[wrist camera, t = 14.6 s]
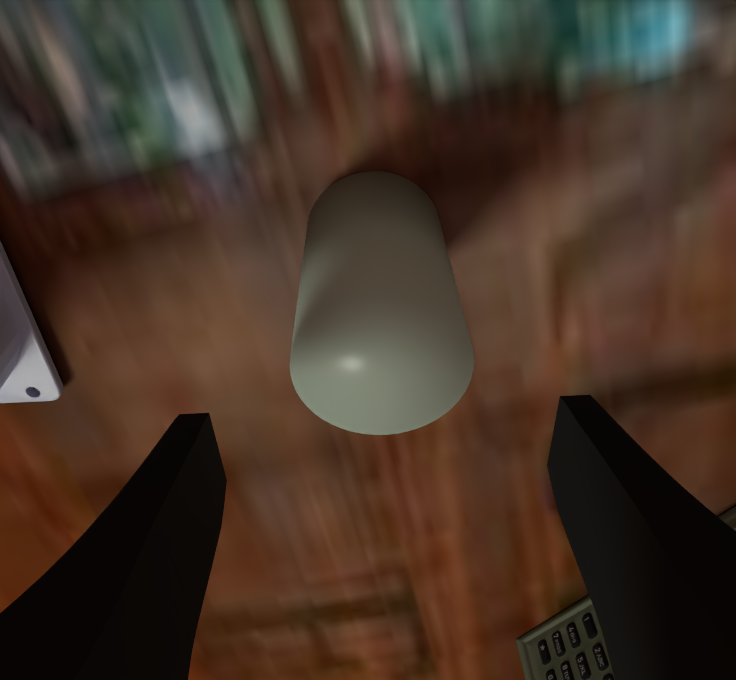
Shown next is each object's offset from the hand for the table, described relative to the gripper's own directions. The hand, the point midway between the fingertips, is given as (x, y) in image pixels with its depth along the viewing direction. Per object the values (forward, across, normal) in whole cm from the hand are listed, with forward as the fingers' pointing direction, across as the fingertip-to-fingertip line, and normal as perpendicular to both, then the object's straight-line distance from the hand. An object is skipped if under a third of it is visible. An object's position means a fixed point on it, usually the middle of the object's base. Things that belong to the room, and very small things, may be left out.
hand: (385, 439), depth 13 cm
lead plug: (+9, 0, 0) cm, 9 cm away
